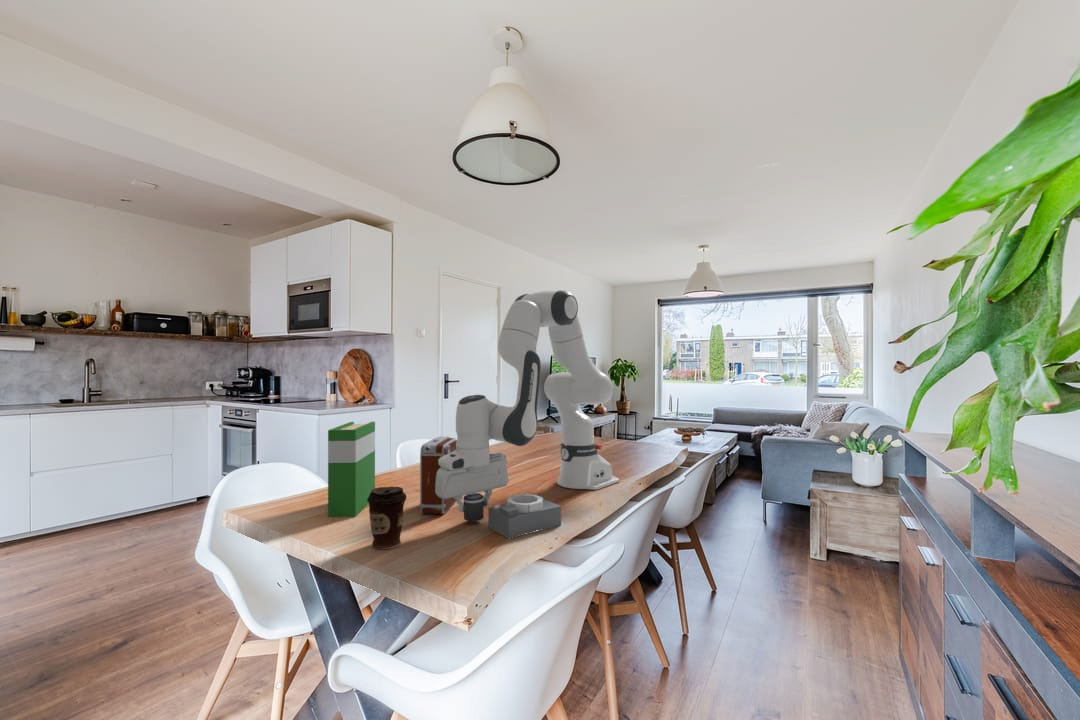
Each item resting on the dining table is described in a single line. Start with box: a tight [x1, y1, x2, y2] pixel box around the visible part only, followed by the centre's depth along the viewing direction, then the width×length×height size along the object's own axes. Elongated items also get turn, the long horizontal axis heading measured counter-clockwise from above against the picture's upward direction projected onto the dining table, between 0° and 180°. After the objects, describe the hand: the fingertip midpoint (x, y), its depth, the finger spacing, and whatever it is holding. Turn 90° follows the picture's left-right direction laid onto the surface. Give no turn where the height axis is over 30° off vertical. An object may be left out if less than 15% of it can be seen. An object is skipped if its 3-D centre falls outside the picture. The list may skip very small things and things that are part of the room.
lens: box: [462, 492, 485, 522], centre depth 122 cm, size 5×5×6 cm
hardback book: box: [327, 421, 376, 518], centre depth 135 cm, size 18×7×24 cm, turn 3°
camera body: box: [487, 493, 562, 539], centre depth 119 cm, size 16×10×7 cm, turn 126°
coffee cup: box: [367, 486, 408, 550], centre depth 107 cm, size 9×8×13 cm
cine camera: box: [419, 436, 457, 515], centre depth 137 cm, size 9×19×20 cm, turn 174°
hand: (473, 508), depth 122 cm, fingers closed on lens, 5 cm apart
